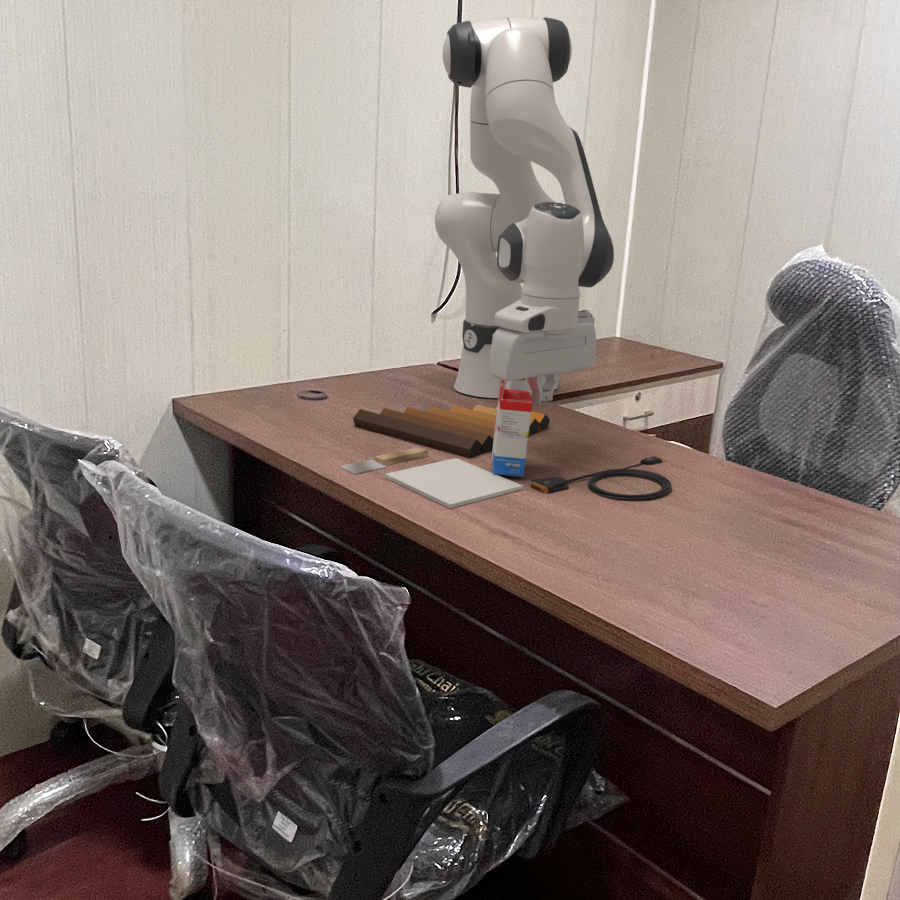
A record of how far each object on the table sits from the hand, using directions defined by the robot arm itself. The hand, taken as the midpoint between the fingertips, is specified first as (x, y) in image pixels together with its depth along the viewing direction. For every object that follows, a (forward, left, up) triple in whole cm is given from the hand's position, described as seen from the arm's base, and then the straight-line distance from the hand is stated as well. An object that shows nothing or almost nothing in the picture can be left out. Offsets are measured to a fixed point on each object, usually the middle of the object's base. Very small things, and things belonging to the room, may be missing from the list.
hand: (541, 401), depth 150 cm
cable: (-5, +14, -11) cm, 19 cm away
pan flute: (-2, -23, -11) cm, 25 cm away
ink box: (+7, 0, -10) cm, 12 cm away
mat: (+18, 0, -10) cm, 20 cm away
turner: (+20, -13, -10) cm, 26 cm away
